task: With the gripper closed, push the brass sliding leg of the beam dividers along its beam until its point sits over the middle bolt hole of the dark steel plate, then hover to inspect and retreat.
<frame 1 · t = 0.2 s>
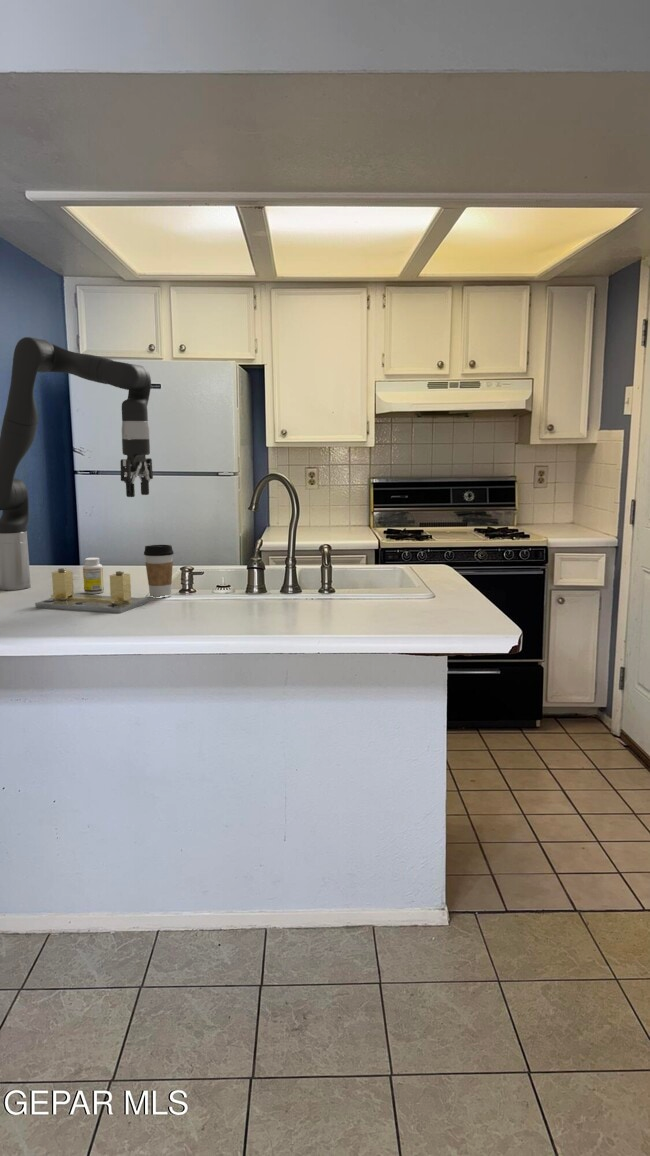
hand: (138, 495, 218), 29 cm above the countertop, fingers open, 8 cm apart
supplement bottle: (94, 593, 228), on the countertop
dividers beam: (88, 586, 208), on the hole plate, point 5 cm above the countertop
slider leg: (59, 584, 211), point 6 cm above the countertop, slide at 0.0 cm
hole plate: (92, 604, 210), on the countertop
coffee cup: (160, 597, 222), on the countertop
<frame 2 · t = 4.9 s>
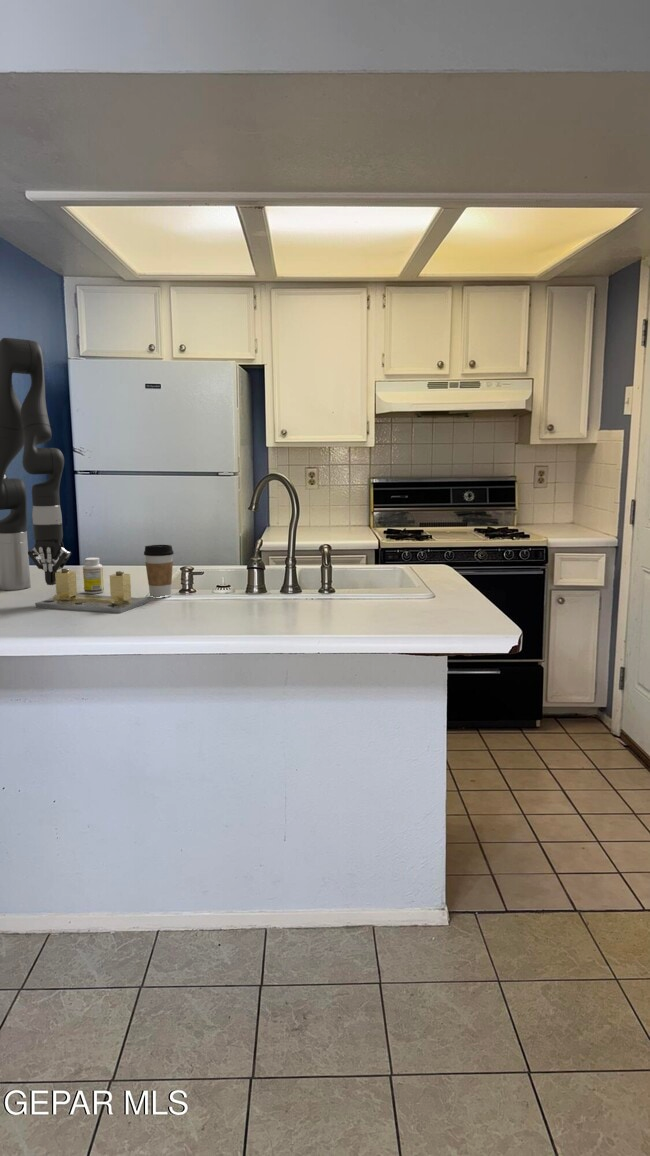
hand: (51, 584, 213), 5 cm above the countertop, fingers closed
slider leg: (63, 584, 210), point 6 cm above the countertop, slide at 1.1 cm, touching gripper
everything else where it was.
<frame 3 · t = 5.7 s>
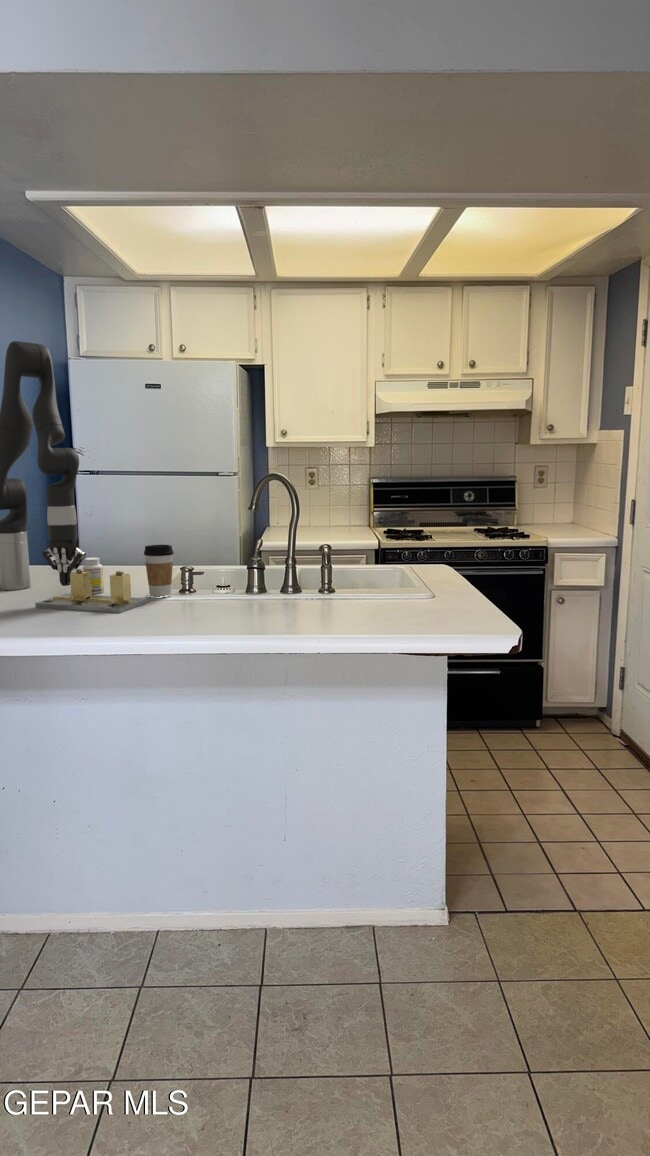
hand: (66, 585, 211), 5 cm above the countertop, fingers closed
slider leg: (77, 585, 209), point 6 cm above the countertop, slide at 5.7 cm, touching gripper
everything else where it was.
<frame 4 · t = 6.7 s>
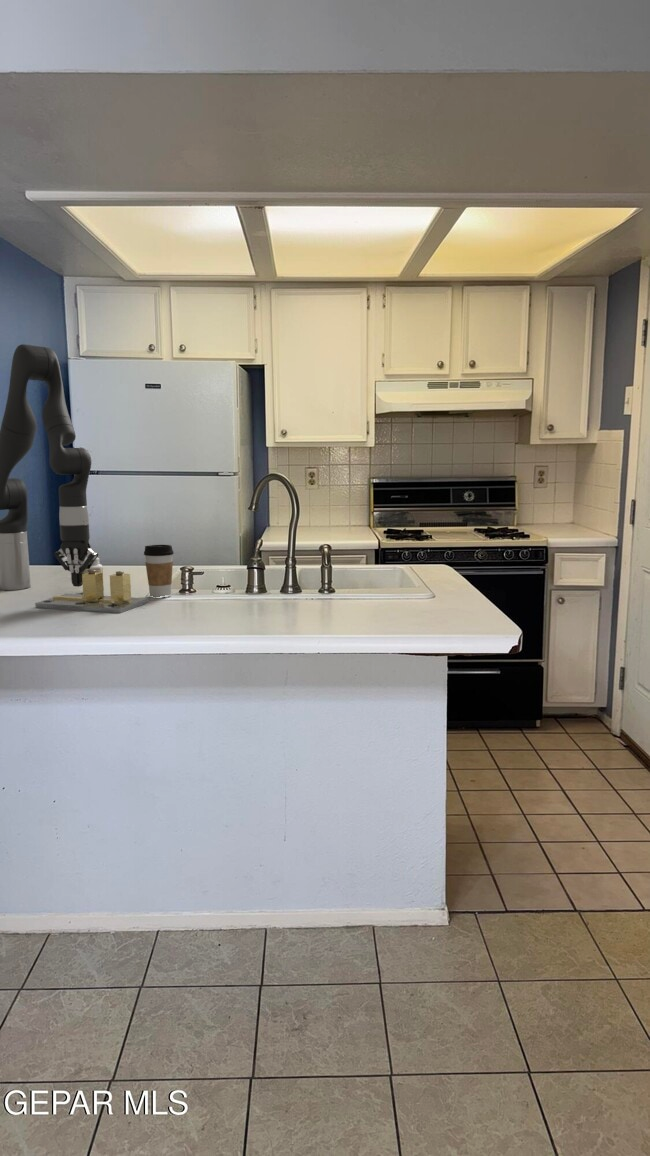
hand: (77, 586, 210), 5 cm above the countertop, fingers closed
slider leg: (90, 585, 208), point 6 cm above the countertop, slide at 9.5 cm, touching gripper
everything else where it was.
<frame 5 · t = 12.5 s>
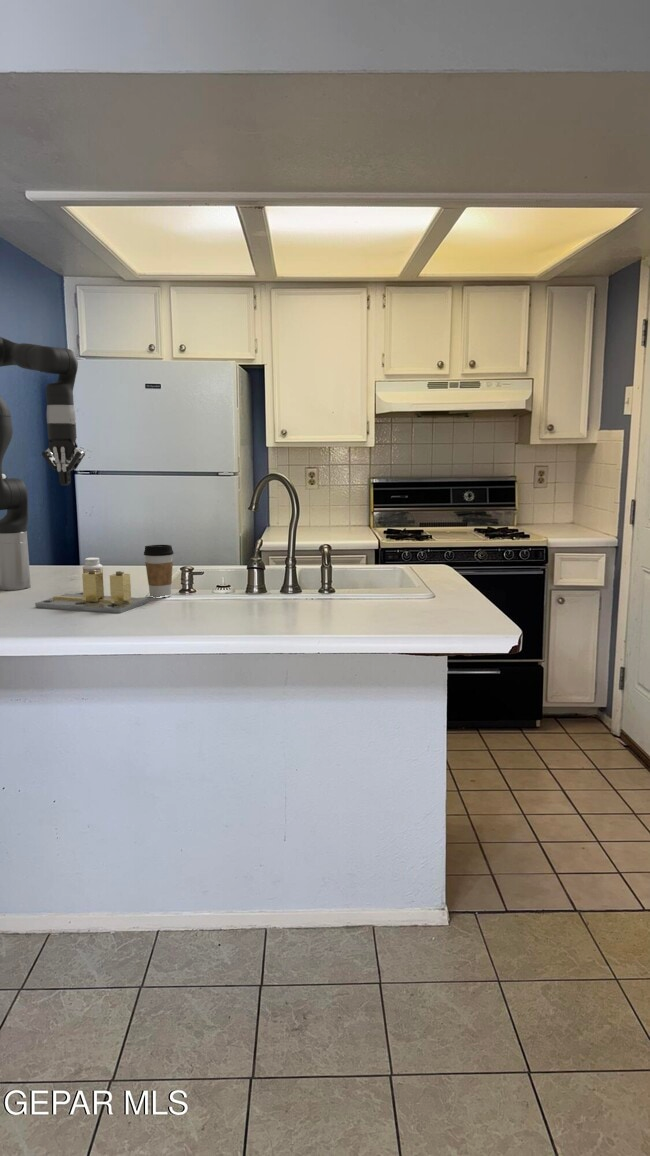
hand: (65, 485, 216), 32 cm above the countertop, fingers closed
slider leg: (90, 585, 208), point 6 cm above the countertop, slide at 9.6 cm
everything else where it was.
at the end: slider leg slide at 9.6 cm; the gripper is holding nothing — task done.
